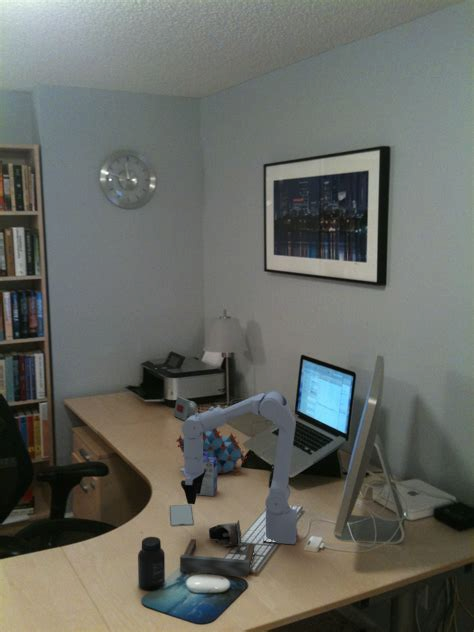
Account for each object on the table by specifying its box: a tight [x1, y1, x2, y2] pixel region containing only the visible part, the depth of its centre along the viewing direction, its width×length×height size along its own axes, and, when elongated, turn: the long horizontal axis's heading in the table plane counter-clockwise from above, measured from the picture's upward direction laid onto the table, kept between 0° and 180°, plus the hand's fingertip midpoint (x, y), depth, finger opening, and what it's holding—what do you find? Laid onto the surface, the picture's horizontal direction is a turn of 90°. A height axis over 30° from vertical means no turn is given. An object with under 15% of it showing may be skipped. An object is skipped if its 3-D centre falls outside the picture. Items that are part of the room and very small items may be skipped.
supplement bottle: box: [137, 536, 166, 592], centre depth 167 cm, size 7×7×12 cm
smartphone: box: [169, 504, 195, 527], centre depth 208 cm, size 7×1×15 cm
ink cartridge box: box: [196, 451, 218, 497], centre depth 225 cm, size 10×6×14 cm, turn 78°
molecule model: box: [176, 428, 248, 476], centre depth 246 cm, size 16×14×25 cm
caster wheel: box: [208, 519, 243, 548], centre depth 191 cm, size 7×11×10 cm
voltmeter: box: [173, 396, 222, 422], centre depth 312 cm, size 27×11×10 cm, turn 69°
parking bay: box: [179, 538, 255, 578], centre depth 179 cm, size 18×14×4 cm
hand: (194, 498), depth 197 cm, fingers open, 7 cm apart
